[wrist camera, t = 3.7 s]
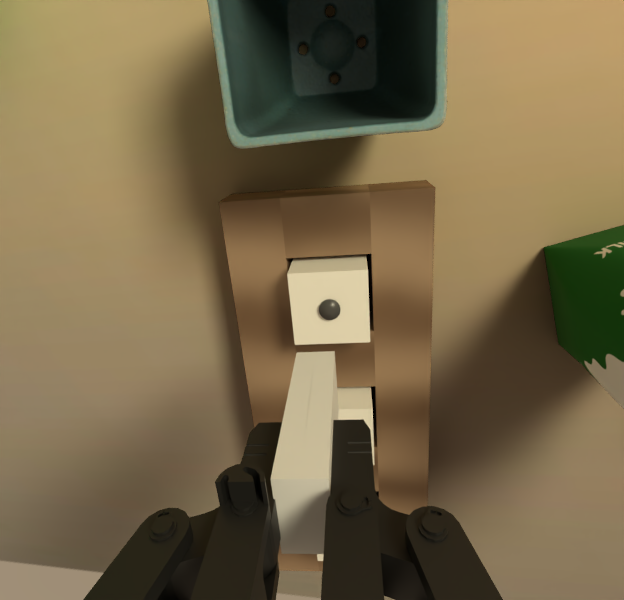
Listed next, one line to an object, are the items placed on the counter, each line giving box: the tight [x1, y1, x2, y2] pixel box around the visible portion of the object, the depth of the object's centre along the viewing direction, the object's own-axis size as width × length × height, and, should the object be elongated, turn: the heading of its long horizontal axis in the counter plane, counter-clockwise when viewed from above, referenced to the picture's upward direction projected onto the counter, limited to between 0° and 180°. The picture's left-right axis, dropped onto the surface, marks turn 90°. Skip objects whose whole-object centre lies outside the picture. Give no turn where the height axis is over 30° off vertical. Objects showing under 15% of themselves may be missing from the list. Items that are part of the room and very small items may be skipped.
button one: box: [287, 254, 370, 345], centre depth 26 cm, size 4×4×4 cm
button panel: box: [219, 180, 435, 571], centre depth 31 cm, size 30×12×3 cm, turn 5°
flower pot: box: [207, 0, 448, 149], centre depth 20 cm, size 9×9×9 cm
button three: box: [337, 386, 375, 465], centre depth 30 cm, size 4×4×4 cm
